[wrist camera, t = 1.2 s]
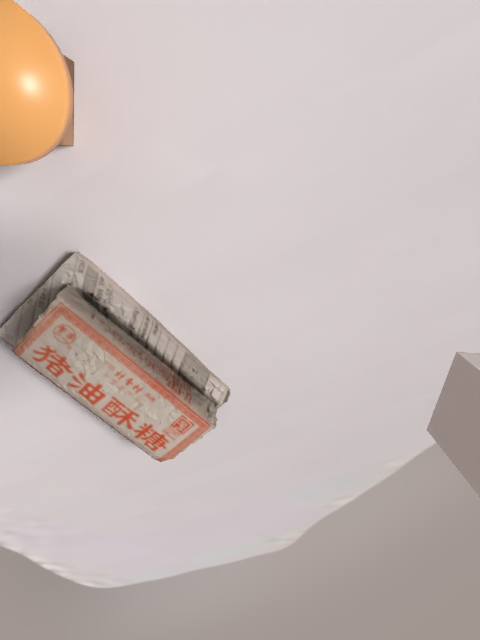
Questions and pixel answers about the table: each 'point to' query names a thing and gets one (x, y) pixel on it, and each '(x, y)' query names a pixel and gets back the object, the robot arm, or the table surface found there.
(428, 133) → the table surface
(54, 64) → the orange dome cap
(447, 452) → the robot arm
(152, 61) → the table surface
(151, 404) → the packaged product
